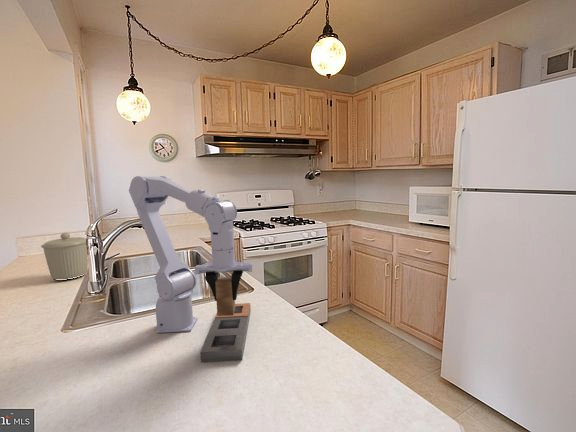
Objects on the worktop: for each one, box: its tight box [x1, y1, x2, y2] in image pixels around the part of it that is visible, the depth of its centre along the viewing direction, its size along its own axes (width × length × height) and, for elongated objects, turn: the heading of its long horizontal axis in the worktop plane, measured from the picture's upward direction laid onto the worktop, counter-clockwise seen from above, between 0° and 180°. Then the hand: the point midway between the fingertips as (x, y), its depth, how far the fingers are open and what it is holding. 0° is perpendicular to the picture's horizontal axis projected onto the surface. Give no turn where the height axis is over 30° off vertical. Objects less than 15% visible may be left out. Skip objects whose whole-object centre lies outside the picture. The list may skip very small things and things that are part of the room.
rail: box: [199, 302, 252, 363], centre depth 84 cm, size 9×27×3 cm, turn 3°
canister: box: [40, 232, 89, 280], centre depth 142 cm, size 18×18×21 cm
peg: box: [215, 276, 236, 316], centre depth 80 cm, size 4×4×9 cm
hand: (226, 299), depth 81 cm, fingers closed on peg, 4 cm apart
